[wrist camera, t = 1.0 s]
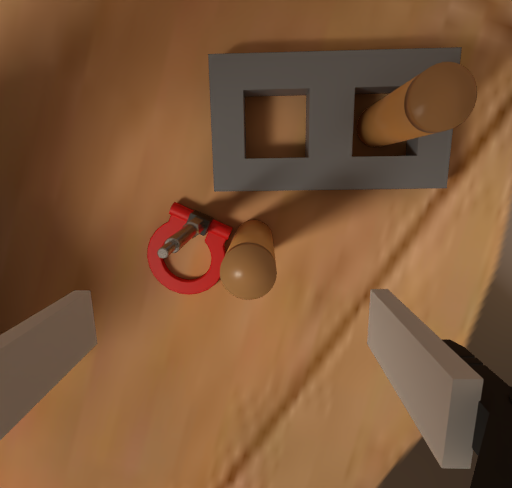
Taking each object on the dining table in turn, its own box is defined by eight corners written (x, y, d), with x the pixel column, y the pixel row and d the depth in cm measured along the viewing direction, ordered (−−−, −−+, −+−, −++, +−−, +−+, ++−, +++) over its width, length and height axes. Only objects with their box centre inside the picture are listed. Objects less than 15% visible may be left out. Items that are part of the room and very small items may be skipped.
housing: (217, 190, 33) (214, 191, 31) (212, 63, 31) (208, 54, 28) (432, 187, 33) (446, 188, 30) (445, 57, 30) (461, 47, 28)
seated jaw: (355, 147, 32) (408, 131, 20) (357, 104, 31) (413, 62, 19) (396, 147, 32) (472, 130, 20) (399, 104, 31) (481, 60, 19)
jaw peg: (235, 256, 35) (220, 299, 23) (234, 219, 34) (219, 245, 22) (272, 256, 35) (276, 300, 23) (272, 220, 34) (276, 245, 22)
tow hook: (209, 301, 36) (242, 229, 34) (176, 375, 24) (224, 268, 22) (140, 272, 36) (169, 196, 34) (70, 330, 23) (107, 217, 21)
